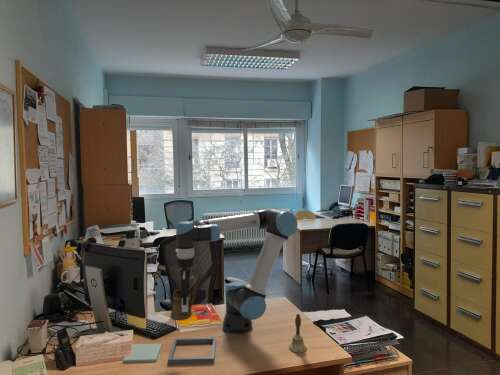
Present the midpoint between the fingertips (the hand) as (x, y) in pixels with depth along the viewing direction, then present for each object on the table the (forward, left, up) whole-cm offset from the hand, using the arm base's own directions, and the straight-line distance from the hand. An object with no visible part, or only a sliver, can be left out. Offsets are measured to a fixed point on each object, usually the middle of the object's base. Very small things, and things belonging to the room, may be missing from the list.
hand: (185, 308), depth 172 cm
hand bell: (-50, -1, -21) cm, 54 cm away
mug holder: (-3, 0, -20) cm, 20 cm away
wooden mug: (0, 0, -4) cm, 4 cm away
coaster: (+19, 0, -20) cm, 28 cm away
